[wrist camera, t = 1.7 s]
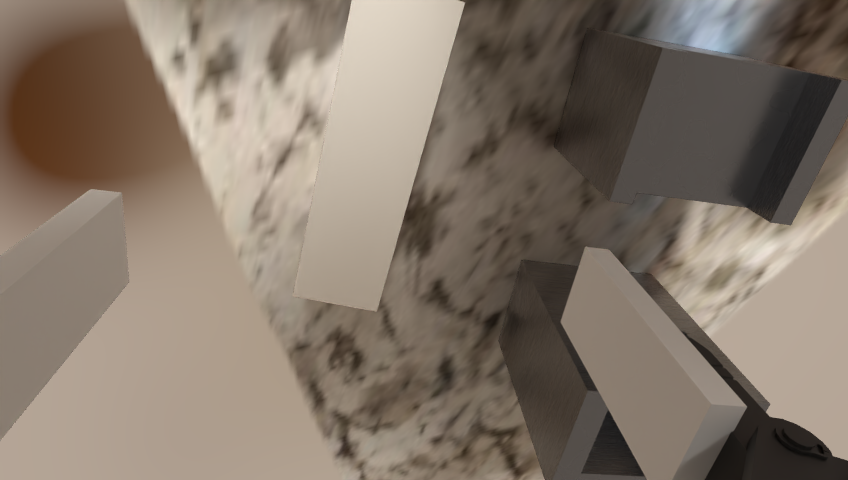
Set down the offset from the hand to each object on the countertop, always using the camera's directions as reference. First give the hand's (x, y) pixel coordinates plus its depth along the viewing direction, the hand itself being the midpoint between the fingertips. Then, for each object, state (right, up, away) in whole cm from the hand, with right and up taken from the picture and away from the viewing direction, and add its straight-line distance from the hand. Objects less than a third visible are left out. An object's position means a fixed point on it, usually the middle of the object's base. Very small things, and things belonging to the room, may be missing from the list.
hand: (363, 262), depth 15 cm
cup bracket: (+11, -4, +18) cm, 21 cm away
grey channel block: (+13, +8, +12) cm, 20 cm away
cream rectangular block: (-1, +6, +12) cm, 14 cm away
